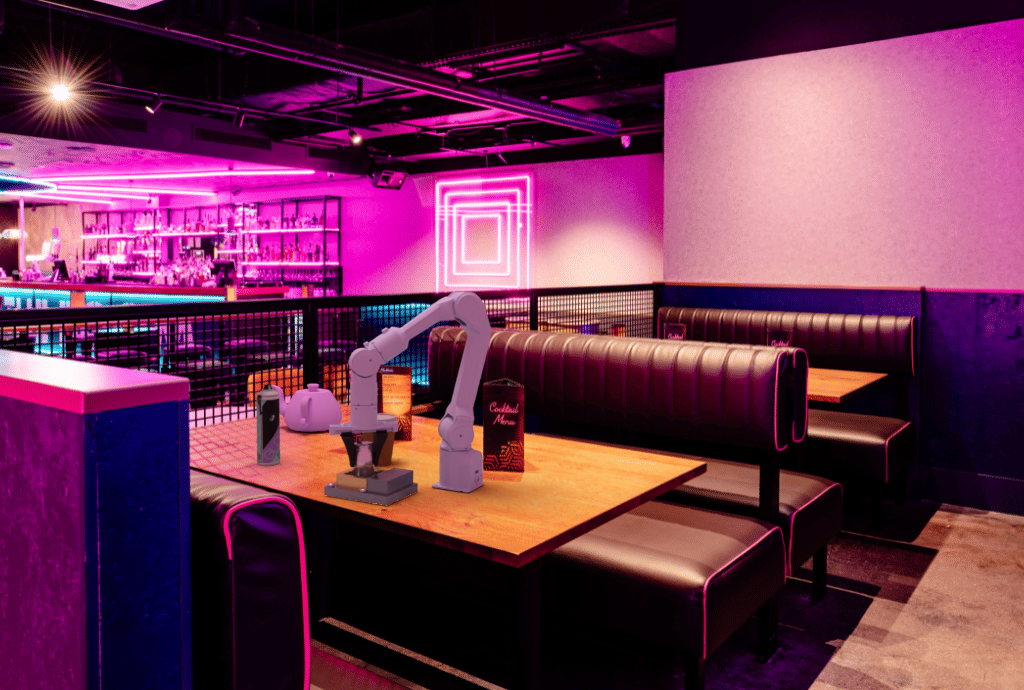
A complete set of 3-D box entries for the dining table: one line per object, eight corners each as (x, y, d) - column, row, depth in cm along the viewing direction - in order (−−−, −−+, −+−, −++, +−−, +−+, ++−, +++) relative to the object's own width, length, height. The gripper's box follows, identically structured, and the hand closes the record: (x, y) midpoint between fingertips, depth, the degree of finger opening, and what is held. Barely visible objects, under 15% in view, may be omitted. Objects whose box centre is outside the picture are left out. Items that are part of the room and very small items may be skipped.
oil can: (378, 474, 167) (378, 435, 166) (364, 478, 163) (364, 439, 162) (362, 471, 169) (362, 433, 169) (348, 475, 165) (348, 436, 165)
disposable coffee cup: (361, 468, 186) (360, 420, 185) (358, 459, 195) (358, 413, 194) (399, 467, 189) (400, 419, 188) (395, 457, 198) (395, 412, 197)
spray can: (273, 466, 187) (272, 386, 185) (252, 465, 188) (251, 384, 186) (284, 461, 192) (283, 382, 191) (264, 459, 193) (263, 382, 192)
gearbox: (417, 491, 168) (417, 469, 167) (386, 506, 157) (386, 482, 156) (357, 482, 174) (357, 461, 174) (324, 495, 163) (324, 473, 163)
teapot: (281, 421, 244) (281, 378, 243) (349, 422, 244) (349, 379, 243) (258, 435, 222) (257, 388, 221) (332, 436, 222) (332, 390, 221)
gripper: (393, 399, 171) (393, 458, 172) (327, 402, 166) (327, 463, 167) (399, 404, 164) (399, 466, 165) (331, 407, 159) (331, 471, 160)
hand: (363, 465), depth 166 cm, fingers closed on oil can, 4 cm apart
